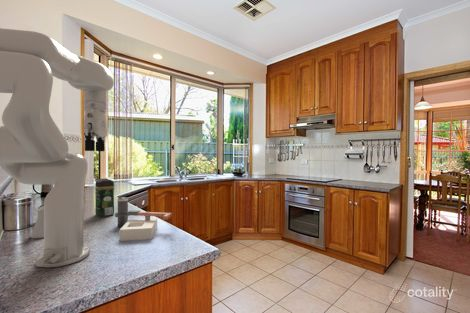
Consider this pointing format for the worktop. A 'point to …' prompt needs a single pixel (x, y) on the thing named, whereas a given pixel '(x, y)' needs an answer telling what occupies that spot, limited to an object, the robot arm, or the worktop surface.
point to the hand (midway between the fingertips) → (95, 151)
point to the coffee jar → (104, 197)
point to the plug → (122, 211)
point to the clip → (149, 214)
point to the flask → (38, 226)
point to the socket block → (138, 229)
